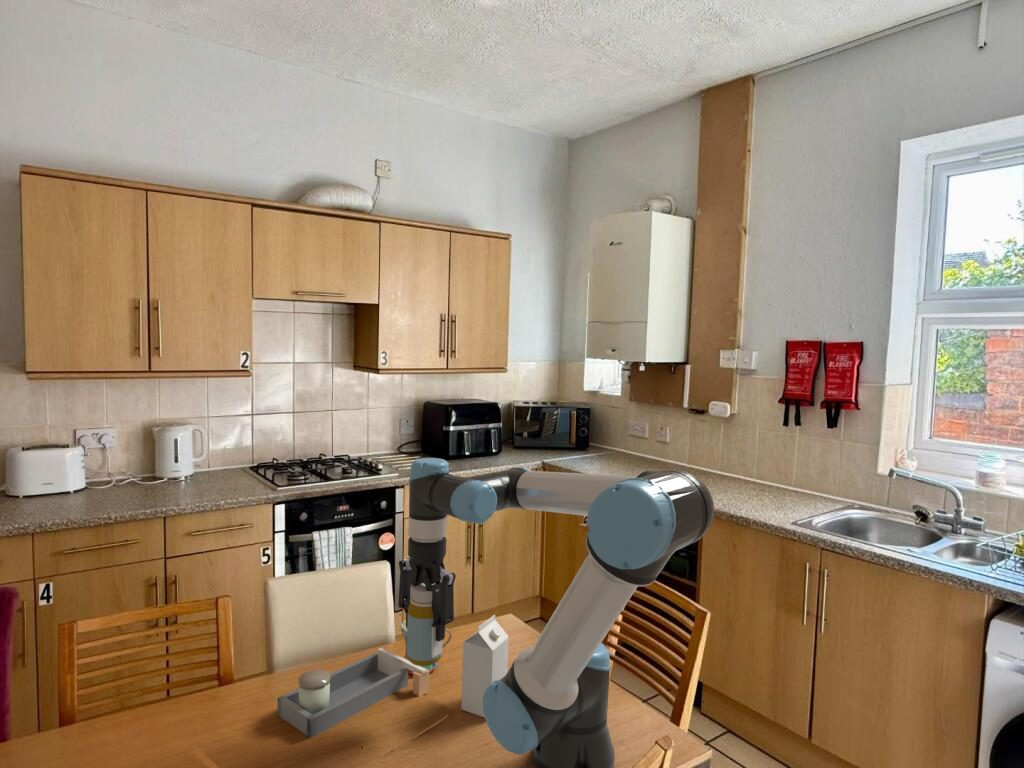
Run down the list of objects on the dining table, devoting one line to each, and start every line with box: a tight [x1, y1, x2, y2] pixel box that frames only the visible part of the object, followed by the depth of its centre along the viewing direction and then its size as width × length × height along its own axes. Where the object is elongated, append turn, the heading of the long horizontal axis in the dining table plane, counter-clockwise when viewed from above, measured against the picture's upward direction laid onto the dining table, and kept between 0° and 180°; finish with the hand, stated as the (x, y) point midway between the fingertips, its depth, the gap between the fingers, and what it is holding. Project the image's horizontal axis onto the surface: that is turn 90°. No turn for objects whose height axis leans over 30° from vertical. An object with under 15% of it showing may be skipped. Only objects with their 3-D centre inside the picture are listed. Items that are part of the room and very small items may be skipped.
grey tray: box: [277, 652, 409, 739], centre depth 136 cm, size 11×25×4 cm, turn 142°
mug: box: [400, 619, 452, 675], centre depth 152 cm, size 12×9×11 cm
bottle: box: [407, 583, 443, 666], centre depth 128 cm, size 7×7×15 cm
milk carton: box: [461, 614, 509, 719], centre depth 136 cm, size 7×7×19 cm
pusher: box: [377, 647, 431, 697], centre depth 144 cm, size 15×3×5 cm, turn 52°
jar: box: [297, 669, 331, 715], centre depth 130 cm, size 6×6×8 cm
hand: (424, 649), depth 129 cm, fingers closed on bottle, 6 cm apart
